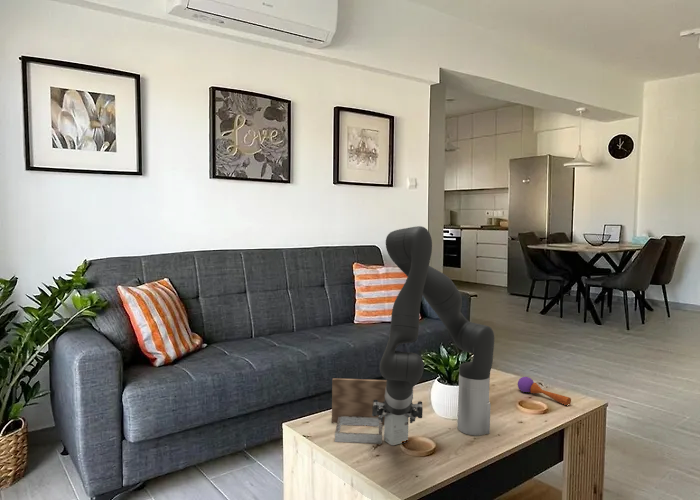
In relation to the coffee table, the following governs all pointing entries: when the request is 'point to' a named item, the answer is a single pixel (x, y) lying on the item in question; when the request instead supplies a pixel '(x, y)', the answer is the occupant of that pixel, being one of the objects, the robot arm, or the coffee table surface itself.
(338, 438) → the grey rectangular frame
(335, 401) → the wall board
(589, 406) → the coffee table surface
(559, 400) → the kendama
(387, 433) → the skincare box
